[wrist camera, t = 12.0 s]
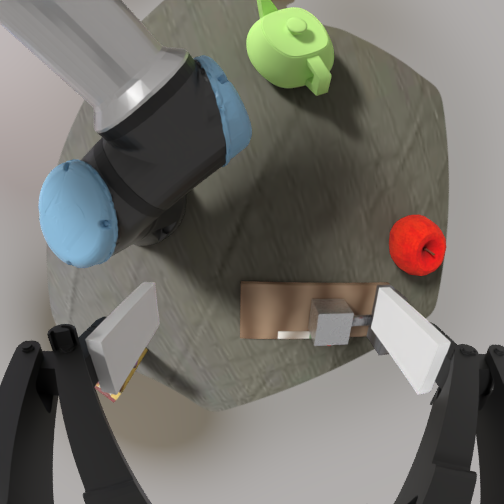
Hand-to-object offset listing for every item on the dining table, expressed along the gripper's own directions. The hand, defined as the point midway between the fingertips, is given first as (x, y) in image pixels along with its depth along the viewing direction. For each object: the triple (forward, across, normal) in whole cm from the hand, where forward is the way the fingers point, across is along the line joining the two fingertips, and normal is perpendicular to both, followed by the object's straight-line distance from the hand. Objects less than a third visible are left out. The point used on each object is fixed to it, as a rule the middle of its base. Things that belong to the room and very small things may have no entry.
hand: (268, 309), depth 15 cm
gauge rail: (+32, +11, -16) cm, 37 cm away
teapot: (+32, +4, +30) cm, 44 cm away
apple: (+32, +26, -1) cm, 41 cm away
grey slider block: (+30, +15, -16) cm, 37 cm away
